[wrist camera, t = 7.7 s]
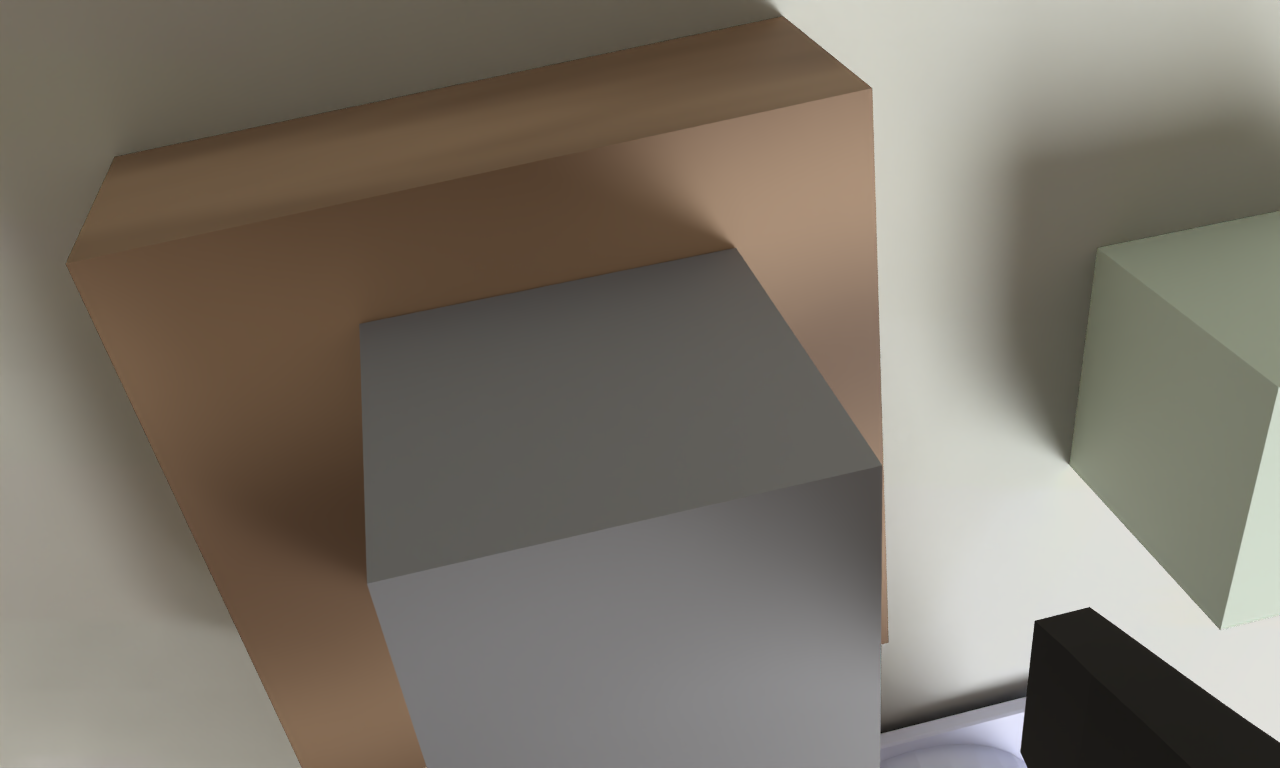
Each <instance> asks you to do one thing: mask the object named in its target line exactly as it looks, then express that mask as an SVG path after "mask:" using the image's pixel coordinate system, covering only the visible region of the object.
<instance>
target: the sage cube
mask: <svg viewBox="0 0 1280 768" xmlns="http://www.w3.org/2000/svg"><path fill="white" fill-rule="evenodd" d="M1069 465H1070V466H1071V467H1072V468H1073V470H1074V471H1075V472H1076V473H1077V474H1078V475H1079V476H1080V477H1081V478H1082V479H1083V480H1084V482H1085V483H1086V484H1087V485H1088V486H1089V487H1090V488H1091V489H1092V490H1093V491H1094V492H1095V494H1096V495H1097V496H1098V497H1099V498H1100V499H1101V500H1102V501H1103V502H1104V503H1105V505H1106V506H1107V507H1108V508H1109V509H1110V510H1111V511H1112V512H1113V513H1114V514H1115V515H1116V517H1117V518H1118V519H1119V520H1120V521H1121V522H1122V523H1123V524H1124V525H1125V526H1126V528H1127V529H1128V530H1129V531H1130V532H1131V533H1132V534H1133V535H1134V536H1135V537H1136V538H1137V540H1138V541H1139V542H1140V543H1141V544H1142V545H1143V546H1144V547H1145V548H1146V549H1147V550H1148V552H1149V553H1150V554H1151V555H1152V556H1153V557H1154V558H1155V559H1156V560H1157V561H1158V563H1159V564H1160V565H1161V566H1162V567H1163V568H1164V569H1165V570H1166V571H1167V572H1168V573H1169V575H1170V576H1171V577H1172V578H1173V579H1174V580H1175V581H1176V582H1177V583H1178V584H1179V585H1180V587H1181V588H1182V589H1183V590H1184V591H1185V592H1186V593H1187V594H1188V595H1189V596H1190V598H1191V599H1192V600H1193V601H1194V602H1195V603H1196V604H1197V605H1198V606H1199V607H1200V608H1201V610H1202V611H1203V612H1204V613H1205V614H1206V615H1207V616H1208V617H1209V618H1210V619H1211V620H1212V622H1213V623H1214V624H1215V625H1216V626H1217V627H1218V628H1219V629H1220V630H1223V629H1227V628H1231V627H1235V626H1239V625H1243V624H1247V623H1251V622H1255V621H1259V620H1263V619H1267V618H1271V617H1275V616H1279V615H1280V211H1276V212H1271V213H1266V214H1261V215H1256V216H1251V217H1246V218H1242V219H1237V220H1232V221H1227V222H1222V223H1217V224H1212V225H1207V226H1202V227H1197V228H1192V229H1188V230H1183V231H1178V232H1173V233H1168V234H1163V235H1158V236H1153V237H1148V238H1143V239H1138V240H1133V241H1129V242H1124V243H1119V244H1114V245H1109V246H1104V247H1099V248H1097V254H1096V261H1095V269H1094V277H1093V285H1092V292H1091V300H1090V308H1089V316H1088V323H1087V331H1086V339H1085V347H1084V355H1083V362H1082V370H1081V378H1080V386H1079V393H1078V401H1077V409H1076V417H1075V424H1074V432H1073V440H1072V448H1071V456H1070V463H1069Z"/></svg>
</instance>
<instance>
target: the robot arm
mask: <svg viewBox="0 0 1280 768" xmlns="http://www.w3.org/2000/svg"><path fill="white" fill-rule="evenodd" d="M880 768H1280V742H1278V741H1277V740H1275V739H1274V738H1272V737H1271V736H1269V735H1268V734H1267V733H1265V732H1264V731H1262V730H1261V729H1259V728H1258V727H1256V726H1255V725H1253V724H1252V723H1250V722H1249V721H1247V720H1246V719H1245V718H1243V717H1242V716H1240V715H1239V714H1237V713H1236V712H1235V711H1233V710H1232V709H1230V708H1229V707H1228V706H1226V705H1225V704H1223V703H1222V702H1220V701H1219V700H1218V699H1216V698H1215V697H1213V696H1212V695H1211V694H1209V693H1208V692H1206V691H1205V690H1204V689H1202V688H1201V687H1200V686H1198V685H1197V684H1195V683H1194V682H1193V681H1191V680H1190V679H1188V678H1187V677H1186V676H1184V675H1183V674H1181V673H1180V672H1179V671H1177V670H1176V669H1175V668H1173V667H1172V666H1170V665H1169V664H1168V663H1166V662H1165V661H1163V660H1162V659H1161V658H1159V657H1158V656H1157V655H1155V654H1154V653H1153V652H1151V651H1150V650H1148V649H1147V648H1146V647H1144V646H1143V645H1142V644H1140V643H1139V642H1137V641H1136V640H1135V639H1133V638H1132V637H1130V636H1129V635H1128V634H1126V633H1125V632H1124V631H1122V630H1121V629H1119V628H1118V627H1117V626H1115V625H1114V624H1112V623H1111V622H1110V621H1108V620H1107V619H1105V618H1104V617H1103V616H1101V615H1100V614H1098V613H1097V612H1096V611H1094V610H1093V609H1091V608H1090V607H1088V608H1084V609H1080V610H1076V611H1072V612H1068V613H1064V614H1060V615H1056V616H1052V617H1048V618H1044V619H1040V620H1036V621H1035V624H1034V633H1033V642H1032V650H1031V659H1030V668H1029V677H1028V686H1027V695H1026V697H1023V698H1019V699H1015V700H1011V701H1007V702H1003V703H999V704H995V705H991V706H987V707H984V708H980V709H976V710H972V711H968V712H964V713H960V714H956V715H952V716H948V717H944V718H940V719H936V720H932V721H929V722H925V723H921V724H917V725H913V726H909V727H905V728H901V729H897V730H893V731H889V732H885V733H881V734H880Z"/></svg>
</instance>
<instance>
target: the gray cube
mask: <svg viewBox="0 0 1280 768" xmlns="http://www.w3.org/2000/svg"><path fill="white" fill-rule="evenodd" d="M359 331H360V365H361V399H362V433H363V467H364V500H365V534H366V568H367V585H368V588H369V592H370V595H371V598H372V601H373V604H374V607H375V610H376V613H377V616H378V619H379V622H380V625H381V628H382V631H383V635H384V638H385V641H386V644H387V647H388V650H389V653H390V656H391V659H392V662H393V665H394V668H395V671H396V674H397V678H398V681H399V684H400V687H401V690H402V693H403V696H404V699H405V702H406V705H407V708H408V711H409V714H410V717H411V720H412V724H413V727H414V730H415V733H416V736H417V739H418V742H419V745H420V748H421V751H422V754H423V757H424V760H425V763H426V767H427V768H880V725H881V590H882V464H881V463H880V461H879V460H878V458H877V457H876V455H875V454H874V452H873V451H872V449H871V448H870V446H869V445H868V443H867V442H866V440H865V439H864V437H863V436H862V434H861V433H860V431H859V430H858V428H857V427H856V425H855V424H854V422H853V421H852V419H851V418H850V416H849V415H848V413H847V412H846V410H845V409H844V408H843V406H842V405H841V403H840V402H839V400H838V399H837V397H836V396H835V394H834V393H833V391H832V390H831V388H830V387H829V385H828V384H827V382H826V381H825V379H824V378H823V376H822V375H821V373H820V372H819V370H818V369H817V367H816V366H815V364H814V363H813V361H812V360H811V358H810V357H809V355H808V354H807V352H806V351H805V349H804V348H803V347H802V345H801V344H800V342H799V341H798V339H797V338H796V336H795V335H794V333H793V332H792V330H791V329H790V327H789V326H788V324H787V323H786V321H785V320H784V318H783V317H782V315H781V314H780V312H779V311H778V309H777V308H776V306H775V305H774V303H773V302H772V300H771V299H770V297H769V296H768V294H767V293H766V291H765V290H764V289H763V287H762V286H761V284H760V283H759V281H758V280H757V278H756V277H755V275H754V274H753V272H752V271H751V269H750V268H749V266H748V265H747V263H746V262H745V260H744V259H743V257H742V256H741V254H740V253H739V251H738V250H737V248H732V249H727V250H722V251H717V252H712V253H707V254H703V255H698V256H693V257H688V258H683V259H678V260H673V261H668V262H663V263H658V264H653V265H648V266H643V267H638V268H633V269H628V270H623V271H618V272H613V273H608V274H604V275H599V276H594V277H589V278H584V279H579V280H574V281H569V282H564V283H559V284H554V285H549V286H544V287H539V288H534V289H529V290H524V291H519V292H514V293H509V294H505V295H500V296H495V297H490V298H485V299H480V300H475V301H470V302H465V303H460V304H455V305H450V306H445V307H440V308H435V309H430V310H425V311H420V312H415V313H411V314H406V315H401V316H396V317H391V318H386V319H381V320H376V321H371V322H366V323H361V324H359Z"/></svg>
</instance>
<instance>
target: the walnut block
mask: <svg viewBox="0 0 1280 768" xmlns="http://www.w3.org/2000/svg"><path fill="white" fill-rule="evenodd" d="M732 248H737V250H738V251H739V253H740V254H741V256H742V257H743V259H744V260H745V262H746V263H747V265H748V266H749V268H750V269H751V271H752V272H753V274H754V275H755V277H756V278H757V280H758V281H759V283H760V284H761V286H762V287H763V289H764V290H765V291H766V293H767V294H768V296H769V297H770V299H771V300H772V302H773V303H774V305H775V306H776V308H777V309H778V311H779V312H780V314H781V315H782V317H783V318H784V320H785V321H786V323H787V324H788V326H789V327H790V329H791V330H792V332H793V333H794V335H795V336H796V338H797V339H798V341H799V342H800V344H801V345H802V347H803V348H804V349H805V351H806V352H807V354H808V355H809V357H810V358H811V360H812V361H813V363H814V364H815V366H816V367H817V369H818V370H819V372H820V373H821V375H822V376H823V378H824V379H825V381H826V382H827V384H828V385H829V387H830V388H831V390H832V391H833V393H834V394H835V396H836V397H837V399H838V400H839V402H840V403H841V405H842V406H843V408H844V409H845V410H846V412H847V413H848V415H849V416H850V418H851V419H852V421H853V422H854V424H855V425H856V427H857V428H858V430H859V431H860V433H861V434H862V436H863V437H864V439H865V440H866V442H867V443H868V445H869V446H870V448H871V449H872V451H873V452H874V454H875V455H876V457H877V458H878V460H879V461H880V463H881V464H882V590H881V644H885V643H888V608H887V574H886V540H885V506H884V472H883V438H882V404H881V370H880V336H879V302H878V268H877V234H876V200H875V166H874V132H873V98H872V88H871V87H870V86H869V85H868V84H866V83H865V82H864V81H863V80H861V79H860V78H859V77H858V76H857V75H855V74H854V73H853V72H852V71H850V70H849V69H848V68H847V67H845V66H844V65H843V64H842V63H840V62H839V61H838V60H837V59H835V58H834V57H833V56H832V55H831V54H829V53H828V52H827V51H826V50H824V49H823V48H822V47H821V46H819V45H818V44H817V43H816V42H814V41H813V40H812V39H811V38H809V37H808V36H807V35H806V34H805V33H803V32H802V31H801V30H800V29H798V28H797V27H796V26H795V25H793V24H792V23H791V22H790V21H788V20H787V19H786V18H785V17H783V16H782V17H777V18H772V19H767V20H763V21H758V22H753V23H748V24H744V25H739V26H734V27H729V28H725V29H720V30H715V31H710V32H706V33H701V34H696V35H691V36H687V37H682V38H677V39H672V40H668V41H663V42H658V43H653V44H649V45H644V46H639V47H634V48H630V49H625V50H620V51H615V52H611V53H606V54H601V55H596V56H592V57H587V58H582V59H577V60H573V61H568V62H563V63H558V64H554V65H549V66H544V67H539V68H535V69H530V70H525V71H520V72H516V73H511V74H506V75H501V76H497V77H492V78H487V79H482V80H478V81H473V82H468V83H463V84H459V85H454V86H449V87H444V88H440V89H435V90H430V91H425V92H421V93H416V94H411V95H406V96H402V97H397V98H392V99H387V100H383V101H378V102H373V103H368V104H364V105H359V106H354V107H349V108H345V109H340V110H335V111H330V112H326V113H321V114H316V115H311V116H307V117H302V118H297V119H292V120H288V121H283V122H278V123H273V124H269V125H264V126H259V127H254V128H250V129H245V130H240V131H235V132H231V133H226V134H221V135H216V136H212V137H207V138H202V139H197V140H193V141H188V142H183V143H178V144H174V145H169V146H164V147H159V148H154V149H150V150H145V151H140V152H135V153H131V154H126V155H121V156H116V157H114V159H113V162H112V164H111V166H110V168H109V170H108V173H107V175H106V177H105V179H104V181H103V183H102V186H101V188H100V190H99V192H98V194H97V196H96V199H95V201H94V203H93V205H92V207H91V210H90V212H89V214H88V216H87V218H86V220H85V223H84V225H83V227H82V229H81V231H80V233H79V236H78V238H77V240H76V242H75V244H74V247H73V249H72V251H71V253H70V255H69V257H68V260H67V262H66V266H67V268H68V270H69V272H70V274H71V276H72V279H73V281H74V283H75V285H76V287H77V289H78V291H79V293H80V296H81V298H82V300H83V302H84V304H85V306H86V308H87V311H88V313H89V315H90V317H91V319H92V321H93V323H94V325H95V328H96V330H97V332H98V334H99V336H100V338H101V340H102V343H103V345H104V347H105V349H106V351H107V353H108V355H109V357H110V360H111V362H112V364H113V366H114V368H115V370H116V372H117V375H118V377H119V379H120V381H121V383H122V385H123V387H124V389H125V392H126V394H127V396H128V398H129V400H130V402H131V404H132V406H133V409H134V411H135V413H136V415H137V417H138V419H139V421H140V424H141V426H142V428H143V430H144V432H145V434H146V436H147V438H148V441H149V443H150V445H151V447H152V449H153V451H154V453H155V456H156V458H157V460H158V462H159V464H160V466H161V468H162V470H163V473H164V475H165V477H166V479H167V481H168V483H169V485H170V488H171V490H172V492H173V494H174V496H175V498H176V500H177V502H178V505H179V507H180V509H181V511H182V513H183V515H184V517H185V519H186V522H187V524H188V526H189V528H190V530H191V532H192V534H193V537H194V539H195V541H196V543H197V545H198V547H199V549H200V551H201V554H202V556H203V558H204V560H205V562H206V564H207V566H208V569H209V571H210V573H211V575H212V577H213V579H214V581H215V583H216V586H217V588H218V590H219V592H220V594H221V596H222V598H223V601H224V603H225V605H226V607H227V609H228V611H229V613H230V615H231V618H232V620H233V622H234V624H235V626H236V628H237V630H238V633H239V635H240V637H241V639H242V641H243V643H244V645H245V647H246V650H247V652H248V654H249V656H250V658H251V660H252V662H253V664H254V667H255V669H256V671H257V673H258V675H259V677H260V679H261V682H262V684H263V686H264V688H265V690H266V692H267V694H268V696H269V699H270V701H271V703H272V705H273V707H274V709H275V711H276V714H277V716H278V718H279V720H280V722H281V724H282V726H283V728H284V731H285V733H286V735H287V737H288V739H289V741H290V743H291V746H292V748H293V750H294V752H295V754H296V756H297V758H298V760H299V763H300V765H301V767H302V768H426V763H425V760H424V757H423V754H422V751H421V748H420V745H419V742H418V739H417V736H416V733H415V730H414V727H413V724H412V720H411V717H410V714H409V711H408V708H407V705H406V702H405V699H404V696H403V693H402V690H401V687H400V684H399V681H398V678H397V674H396V671H395V668H394V665H393V662H392V659H391V656H390V653H389V650H388V647H387V644H386V641H385V638H384V635H383V631H382V628H381V625H380V622H379V619H378V616H377V613H376V610H375V607H374V604H373V601H372V598H371V595H370V592H369V588H368V585H367V568H366V534H365V500H364V467H363V433H362V399H361V365H360V331H359V324H361V323H366V322H371V321H376V320H381V319H386V318H391V317H396V316H401V315H406V314H411V313H415V312H420V311H425V310H430V309H435V308H440V307H445V306H450V305H455V304H460V303H465V302H470V301H475V300H480V299H485V298H490V297H495V296H500V295H505V294H509V293H514V292H519V291H524V290H529V289H534V288H539V287H544V286H549V285H554V284H559V283H564V282H569V281H574V280H579V279H584V278H589V277H594V276H599V275H604V274H608V273H613V272H618V271H623V270H628V269H633V268H638V267H643V266H648V265H653V264H658V263H663V262H668V261H673V260H678V259H683V258H688V257H693V256H698V255H703V254H707V253H712V252H717V251H722V250H727V249H732Z"/></svg>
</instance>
